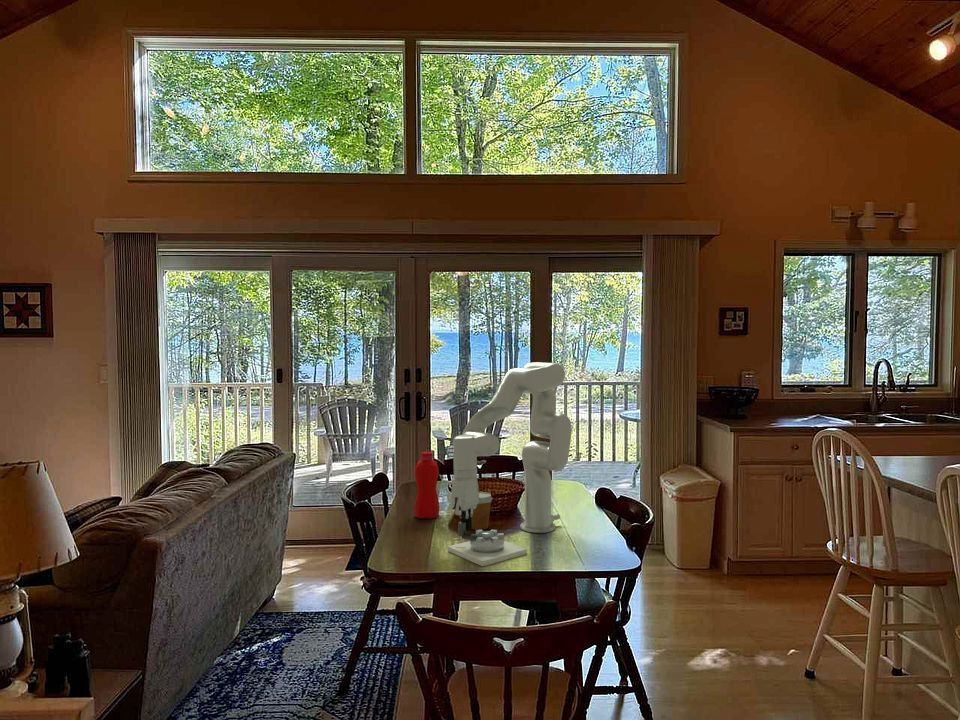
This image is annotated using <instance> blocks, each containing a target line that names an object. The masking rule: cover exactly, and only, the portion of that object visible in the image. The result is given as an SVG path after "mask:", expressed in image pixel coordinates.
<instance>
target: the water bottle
mask: <svg viewBox="0 0 960 720" xmlns="http://www.w3.org/2000/svg"><path fill="white" fill-rule="evenodd" d="M420 456H421V457H420V460H419V461H418V462H417V464H416V466H415V467H414V477H415V482H416V486H417V488H416V489H417V492H416V493H417V494H416V498H415V503H414V517H416V518H417V519H431V520H432V519H436V518H438V517H439V514H440V502H439V497H438V491H437V483H438V479H439V474H440V470H439V464H438V462H437V461H436V460H434V459H433V452H431V451H423V452H421V453H420Z"/></svg>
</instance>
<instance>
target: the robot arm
mask: <svg viewBox="0 0 960 720" xmlns="http://www.w3.org/2000/svg"><path fill="white" fill-rule="evenodd" d="M565 378H566V371H565V369H564V367H563V366H562V365H561V364H559V363H556V362H543V361H541V362H540V361H537V362H535V361H534V362H533V361H532V362H528V363H525V364H524V365H523V367H522V368H521V367H520V368H519V367H516V368H510V369H509V370H508V371H506V373H505V375H504V376H503V378H502V380H501V381H500V383H499V386H498V387H497V390H496V391H495V393H494V395H493V396H492V398H491V400H490V402H488V403H487V404H486V405H484V406H483V407H482V408H480V409H479V410H478V411H477V412H476V413H475V414H474V415H472V417H471V418H470V419H469V421H468V422H467V424H466V426H465V428H464V429H463V431H462V433H461V435H456V436H454V437H453V439H452V440H453V441H452V442H453V443H452V445H453V446H452V448H453V449H452V451H453V452H452V453H453V458H452V459H453V479H452V482H451V491H450V492H451V493H450V507H451V510H454V511H455V512H454V514H455V515H456V516H459V518H460V522H466V532H467V531H468V532H469V531H471V530H473V529H472V518H471V517H472V516H473V510H474V509H475V508H476V507H477V504H478V503H479V492H480V490H479V482H478V464H477V463H478V458H477V457H491V456H493V455H495V454H496V453H497V452H498V451H499V449H500V447H501V445H500V440H499V438H498V437H497V436H496V435H495V434H493V433H490V432H484V431H485V430H486V429H487V428H488V427H489V426H491V425H492V424H494V423H495V422H498V421H500V420H504V419H506V418H508V417H510V416H511V415H513V413H514V412H515V409H516V408H517V406H518V404H519V402H520V399H521V398H522V397H523V394H532V404H531V411H530V412H531V414H530V422H529V431H530V433H531V434H532V435H533V436H534V437H538V438H541V439H542V438H543V439H548V440H550V442H547V441H542V440H541V441H540V440H531V441H529V442H527V443H525V445H523V446H522V447H523V448H522V451H521V459H522V464H523V470H524V521H523V522H522V523H520V525H519V526H520V529H521V530H522V531H525V532H529V533H533V534H534V533H535V534H536V533H537V534H539V533H540V534H542V533H543V534H544V533H550V532H553V531H554V530H556V524H555V523H554V521H558V520H560V519H561V515H560V514H559V513H556V514H553V513H552V477H551V474H550V471H553V472H560V471H562V470H564V469H565V468H566V467H567V464H568V461H569V457H570V456H569V455H570V448H571V441H572V432H573V430H572V428H573V426H572V422H571V420H570V417H568V415H566V413H565V414H564V413H561V412H556V406H557V395H556V393H555V390H554V389H556V388H558V387H560V386H561V385H562V384H563V383H564V381H565V380H566V379H565Z"/></svg>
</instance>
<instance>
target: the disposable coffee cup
mask: <svg viewBox="0 0 960 720" xmlns="http://www.w3.org/2000/svg"><path fill="white" fill-rule="evenodd" d="M492 500H493V497H492V495H491V493H489V492H485V491H479V503H478V504H477V507H476V508H475V509H474V510H473V516H472V517H471V518H472V529H471V530H475V531H476V530H480V529H481V530H483V531H485V530H486V529H488V528H489V522H490V513H491V505H492Z"/></svg>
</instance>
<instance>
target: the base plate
mask: <svg viewBox="0 0 960 720" xmlns="http://www.w3.org/2000/svg"><path fill="white" fill-rule="evenodd" d="M447 552H449V553H451V554H453V555H456V556H459V557H460V558H462V559H464V560H465V559H466V560H467V561H468V562H469V561H470V562H471V563H474V564H477V565H479V566H481V567H484V566H489V565H492V564H495V563H499V562H502V561H506V560H509V559H513V558H516V557H521V556H524V555H527V554H528V553H527V552H528V550H527V548H525V547H523V546H519V545H516V544H514V543H511V542H508V541H506V540H504V549H503V550H501V551H498V552H493V553H481V552H476V551H473V550H471V549H470V540H467V541H463V542H460V543H456V544H452V545H448V546H447Z"/></svg>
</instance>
